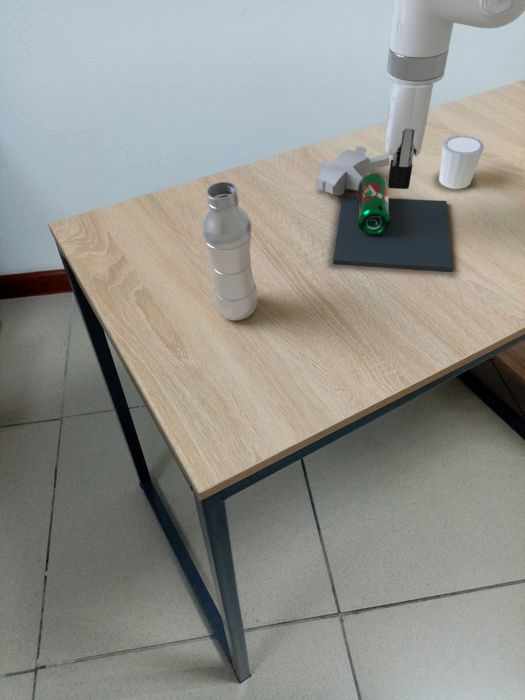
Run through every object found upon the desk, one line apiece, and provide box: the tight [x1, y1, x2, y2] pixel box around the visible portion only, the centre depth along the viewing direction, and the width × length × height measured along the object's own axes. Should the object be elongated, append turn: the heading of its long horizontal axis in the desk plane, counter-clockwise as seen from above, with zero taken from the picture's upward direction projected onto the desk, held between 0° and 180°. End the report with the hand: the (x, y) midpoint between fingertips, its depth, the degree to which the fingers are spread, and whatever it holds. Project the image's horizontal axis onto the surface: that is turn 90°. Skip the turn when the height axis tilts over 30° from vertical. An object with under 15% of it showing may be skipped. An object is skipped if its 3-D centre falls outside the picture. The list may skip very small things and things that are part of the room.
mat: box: [332, 195, 453, 273], centre depth 88 cm, size 18×18×1 cm
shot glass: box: [438, 135, 485, 190], centre depth 95 cm, size 7×7×7 cm
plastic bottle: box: [201, 181, 259, 321], centre depth 71 cm, size 6×7×20 cm
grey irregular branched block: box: [315, 145, 391, 196], centre depth 97 cm, size 10×5×15 cm
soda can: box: [357, 171, 390, 235], centre depth 88 cm, size 5×5×12 cm
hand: (398, 185), depth 84 cm, fingers closed
